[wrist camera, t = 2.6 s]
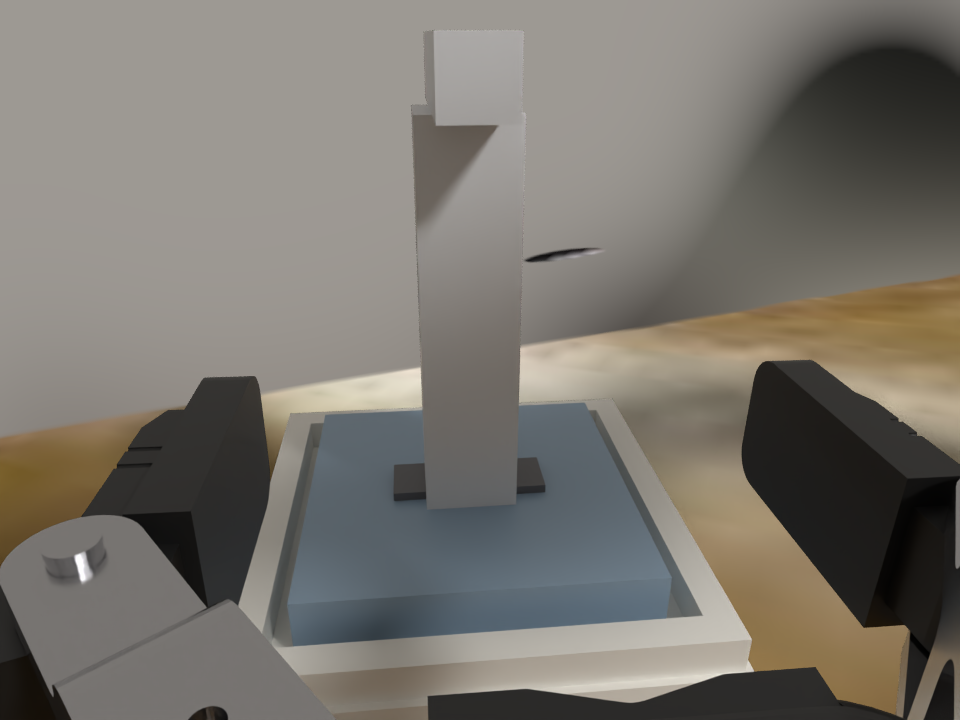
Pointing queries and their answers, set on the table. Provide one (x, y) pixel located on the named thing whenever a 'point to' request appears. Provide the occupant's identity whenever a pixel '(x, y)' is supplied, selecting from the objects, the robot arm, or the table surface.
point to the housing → (500, 654)
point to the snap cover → (469, 421)
